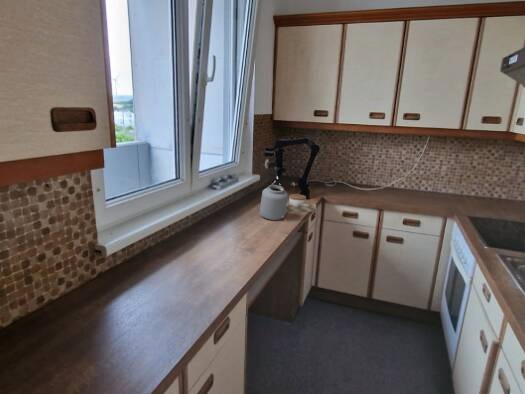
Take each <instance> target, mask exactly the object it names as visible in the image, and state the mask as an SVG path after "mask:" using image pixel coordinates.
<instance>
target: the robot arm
mask: <svg viewBox="0 0 525 394" xmlns="http://www.w3.org/2000/svg"><path fill="white" fill-rule="evenodd" d="M296 145H306V146H307V147H308V148H310V153H309V154H310V156H309V158H308V160H307V164H306V166H305V169H304V171H303V174H302V175H299V178H298V181H297V183H298V184H297V186H298V187H299V188H300V190H299V193H298V194H299V195H304V196H306V200H311V198H310V196H311V195H310V194H311V190H310V188H311V186H310V184H309V183H308V180H309V175H310V173H311V171H312V168H313V165H314V162H315V160H316V157H317V156H318V154H319V152H320V151H321V145H320V144H319V143H315V141H313V140H311V139H310V138H309V137H302V138H295V139H283V138H281V139H278V140H276V141H275V143H274V146H273V147H269V146H265V149H264V157H265V158H273V157H274V159H273V160H272V161H269V162H267V163H266V165H267V166H266V167H267V168H268V169H273V170H274V171H275V174H276V175H275V176H276V179H277V178H278V179H277V180H278V181H279V180H280V178H281V176H282V174H283V173H284V172H285V173H286V172H287V168H286V167H285V166H284V161H285V159H284V153H286V152H287V149H286V148H285V147H288V146H296ZM277 176H278V177H277Z"/></svg>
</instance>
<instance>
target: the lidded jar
mask: <svg viewBox="0 0 525 394" xmlns="http://www.w3.org/2000/svg"><path fill="white" fill-rule="evenodd" d="M288 201H289V204H306V202H307V199H306V196H304V195H299V193H296V194H295V193H293V194H290V195H288Z"/></svg>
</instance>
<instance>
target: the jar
mask: <svg viewBox="0 0 525 394" xmlns="http://www.w3.org/2000/svg"><path fill="white" fill-rule="evenodd" d="M277 177H278V176H277V175H276V179H277V180H278V178H277ZM274 183H276V181H274V182H273V183H272V184H270V185H268V186H267V187H265V188H264V189H263V190H262V192H261V193H262V194H261V199H260V208H259V213H260V215H261V216H262V217H263V218H264V219H267V220H269V221H278V220H281V219H283V218H284V217H285V215H286V212H285V211H286V205H287V204H288V201H289V194H288V192H287V191H286V190H285V187H284V186H281V185H277V184H274ZM284 220H285V221H287V220H286V219H284Z"/></svg>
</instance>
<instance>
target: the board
mask: <svg viewBox="0 0 525 394" xmlns="http://www.w3.org/2000/svg"><path fill="white" fill-rule="evenodd" d="M316 211H317V205H316V203H305V204H290V203H289V204H288V203H287V205H286V211H285V213H300V212H302V213H303V212H304V213H306V212H311V213H313V212H315V213H316Z"/></svg>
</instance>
